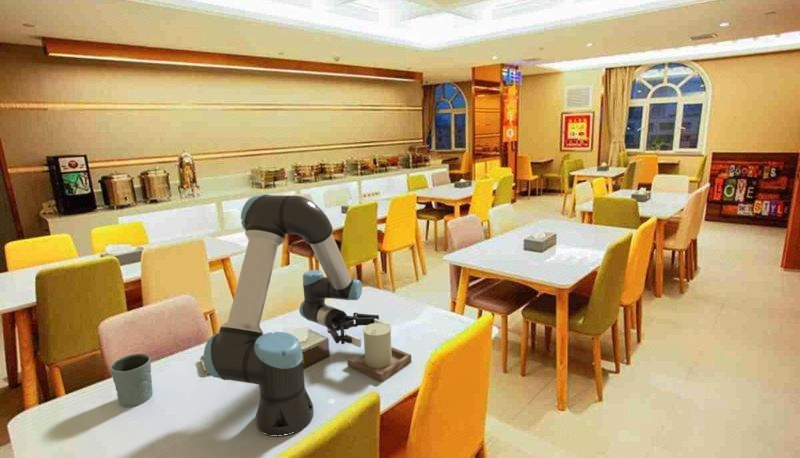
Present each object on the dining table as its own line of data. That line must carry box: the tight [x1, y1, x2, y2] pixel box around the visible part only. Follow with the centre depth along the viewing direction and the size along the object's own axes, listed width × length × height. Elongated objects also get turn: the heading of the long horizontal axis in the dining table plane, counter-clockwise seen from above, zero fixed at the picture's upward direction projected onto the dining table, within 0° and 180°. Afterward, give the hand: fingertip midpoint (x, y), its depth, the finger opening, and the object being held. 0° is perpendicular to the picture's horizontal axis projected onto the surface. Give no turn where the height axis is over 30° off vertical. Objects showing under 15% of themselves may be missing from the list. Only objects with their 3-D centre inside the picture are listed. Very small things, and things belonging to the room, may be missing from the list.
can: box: [362, 323, 392, 368], centre depth 142 cm, size 9×9×12 cm
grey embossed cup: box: [109, 353, 154, 408], centre depth 128 cm, size 10×10×12 cm
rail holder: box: [346, 346, 412, 383], centre depth 143 cm, size 15×15×2 cm
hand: (374, 335), depth 143 cm, fingers open, 13 cm apart
